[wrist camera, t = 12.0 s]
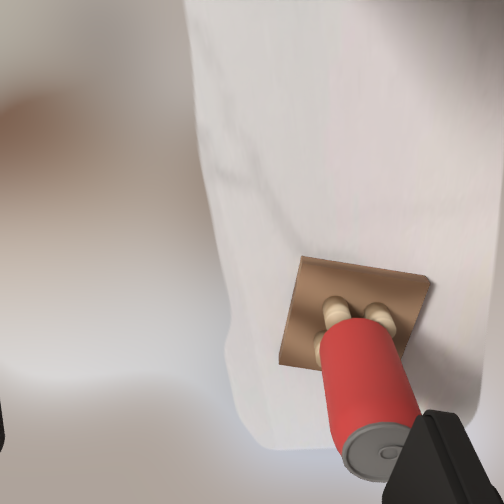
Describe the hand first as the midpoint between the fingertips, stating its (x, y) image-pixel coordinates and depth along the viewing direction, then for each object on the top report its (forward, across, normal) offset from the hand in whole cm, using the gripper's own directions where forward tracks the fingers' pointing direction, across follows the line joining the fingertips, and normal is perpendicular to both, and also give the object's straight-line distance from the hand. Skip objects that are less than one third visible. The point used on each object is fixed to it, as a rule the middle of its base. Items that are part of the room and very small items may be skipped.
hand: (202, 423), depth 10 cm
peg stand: (+30, -12, +16) cm, 36 cm away
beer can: (+26, -12, +16) cm, 33 cm away
